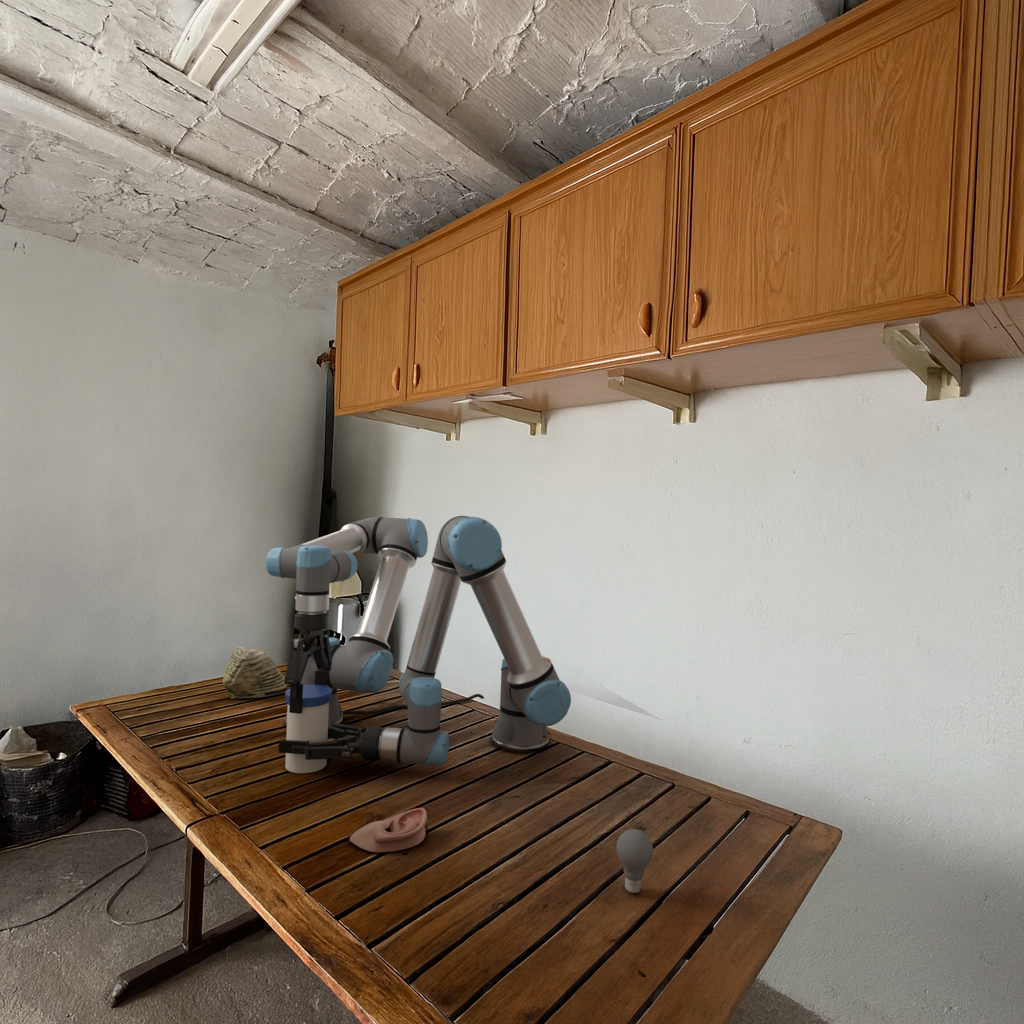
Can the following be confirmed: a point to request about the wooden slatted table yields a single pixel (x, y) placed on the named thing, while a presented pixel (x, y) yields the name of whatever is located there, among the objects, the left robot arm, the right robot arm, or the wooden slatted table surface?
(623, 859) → the light bulb
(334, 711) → the left robot arm
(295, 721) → the jar
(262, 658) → the fossil
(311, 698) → the lid
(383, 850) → the anatomical model
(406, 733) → the right robot arm
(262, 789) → the wooden slatted table surface
